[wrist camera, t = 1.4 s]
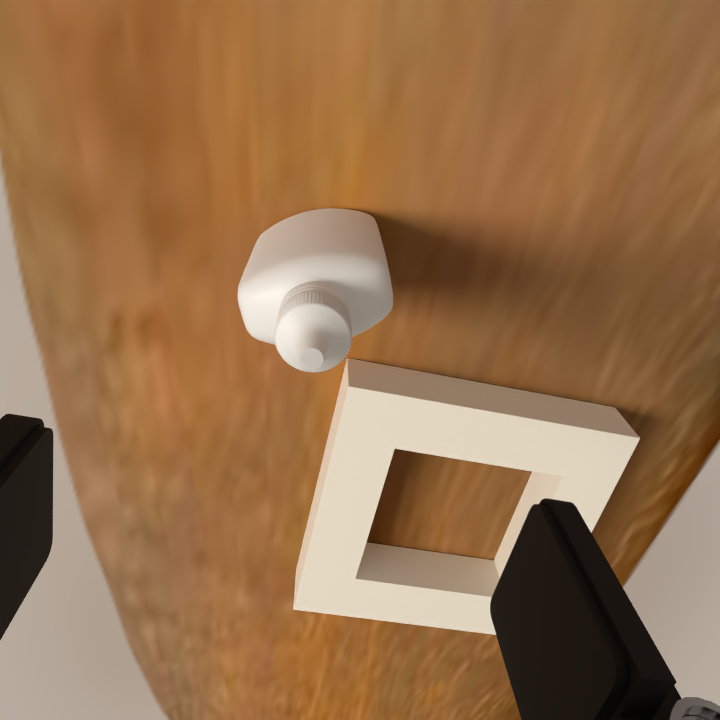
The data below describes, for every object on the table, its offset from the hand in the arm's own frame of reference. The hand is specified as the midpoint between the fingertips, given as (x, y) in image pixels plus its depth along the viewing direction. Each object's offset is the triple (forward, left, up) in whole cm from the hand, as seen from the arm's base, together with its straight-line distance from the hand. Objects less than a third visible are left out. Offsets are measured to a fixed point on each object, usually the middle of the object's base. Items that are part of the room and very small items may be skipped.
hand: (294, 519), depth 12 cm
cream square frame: (+13, +10, -18) cm, 24 cm away
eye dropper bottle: (0, 0, -19) cm, 19 cm away
